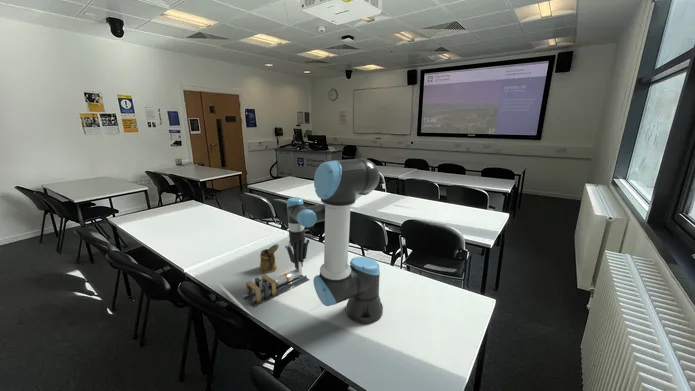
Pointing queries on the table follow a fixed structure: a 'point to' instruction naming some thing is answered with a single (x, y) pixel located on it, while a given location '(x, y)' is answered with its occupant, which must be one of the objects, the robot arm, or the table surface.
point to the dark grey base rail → (279, 290)
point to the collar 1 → (251, 286)
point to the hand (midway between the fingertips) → (299, 273)
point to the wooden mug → (268, 260)
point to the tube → (286, 277)
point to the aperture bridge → (263, 286)
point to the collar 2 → (272, 282)
